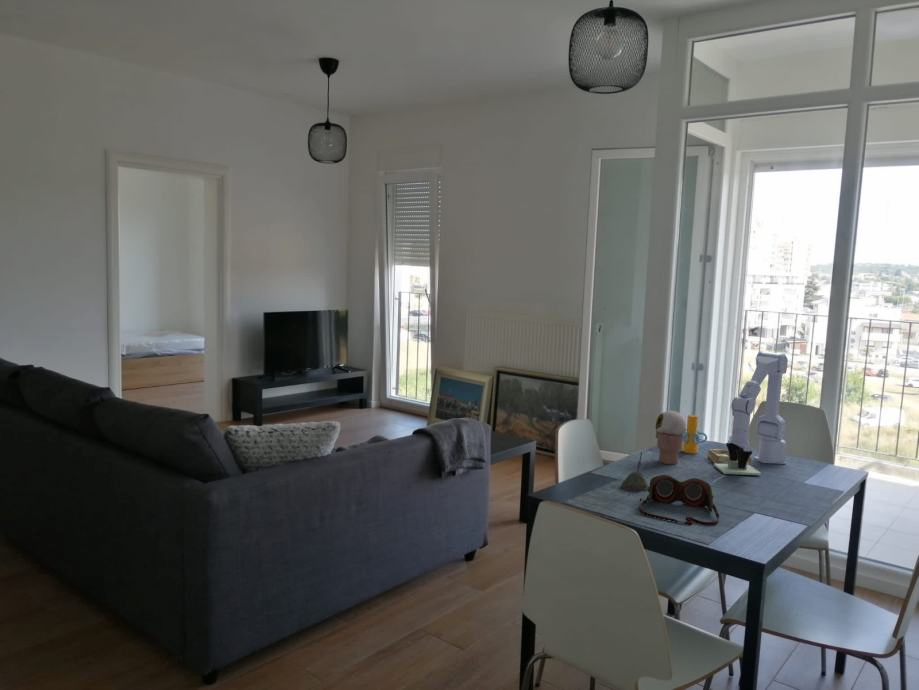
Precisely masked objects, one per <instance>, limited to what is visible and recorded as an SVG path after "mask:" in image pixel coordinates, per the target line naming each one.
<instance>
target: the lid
mask: <svg viewBox="0 0 919 690" xmlns="http://www.w3.org/2000/svg"><path fill="white" fill-rule="evenodd" d="M713 466H714V467H715V468H716V469H718V470H719V471H720V472H721V473H723V474H725V475H743V476H745V475H746V476H761V475H762V473H761V472H760V471H759V470H757V469H756V468H755V467H753V466H752V465H751V466H750V465H747V463H746V466H745V468H744V469H741V468H738V461H731V460H728V464H716V463H714V462H713Z"/></svg>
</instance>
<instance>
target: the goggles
mask: <svg viewBox="0 0 919 690" xmlns="http://www.w3.org/2000/svg"><path fill="white" fill-rule="evenodd" d="M712 491H713V490H712V486H711V484H710V483H708V482H707V481H705V480H703V479H700V478H695V477H694V478H688V479H686V480H682V481H679V480H678V479H676V478H675V477H673V476H672V475H671V476H670V475H668V474H661V475H657V476H654V477H652V478H650V481H649V486H648V489H647V490H646V492H648V495H646V498H645V499H643V498H641V497H640V498H639V502H640V503H639V504H637V505H638V506H637V510H638V511H639V513H640V514H641V515H643V514H644V515H643V516H645V515H648V516H647V517H649V516H651V517H650V518H653V517H656V518H655V519H657V518H660V519H659V520H662V519H665V520H664V521H666V520H671V521H675V522H674V523H676V522H678V523H677V524H681V523H682V525H686V524H688V525H687V526H692V525H693V523H694V522H695V524H698V523H699V524H698V525H701V524H702V526H716V525H718V523H719V518H720V514H719V512H718V510H717V507H716V505H715V503H714V495H713V492H712ZM652 501H653V502H656V501H657V503H664V504H673V503H676V502H681V503H682V504H684V505H685V506H689V507H698V508H705V507H707V510H708V512H710V513H712V512H713V511H714V514H715V518H716V520H713V521H705V520H700V519H698V518H695V517H691V516H688V515H687V516H686V515H685V520H680V519H675V518H672V517H667V516H663V515H658V514H654V513H650V512H647V511H645V510H644V509H642V508H643V506H644V505H646V504H648V506H649V505H652ZM686 520H687V521H686ZM671 521H670V522H671ZM692 521H693V522H692Z"/></svg>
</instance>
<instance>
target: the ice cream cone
mask: <svg viewBox="0 0 919 690" xmlns="http://www.w3.org/2000/svg"><path fill="white" fill-rule="evenodd" d="M685 429H687V422H686V419H685V418H684V416H683V415H682V414H681V413H679V412H678V411H675V410H665V411H663V412H661V413H660V414H659V415H658V417H657V419H656V422H655V430H656V431H655V432H656V434H655V439H656V446H657V449H659V454H658V462H659V463H661V464H665V465H676V464H677V463H678V458H679V452H680V451H681V450H682V448H683V440H682V439H683V433H684V431H685Z"/></svg>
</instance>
